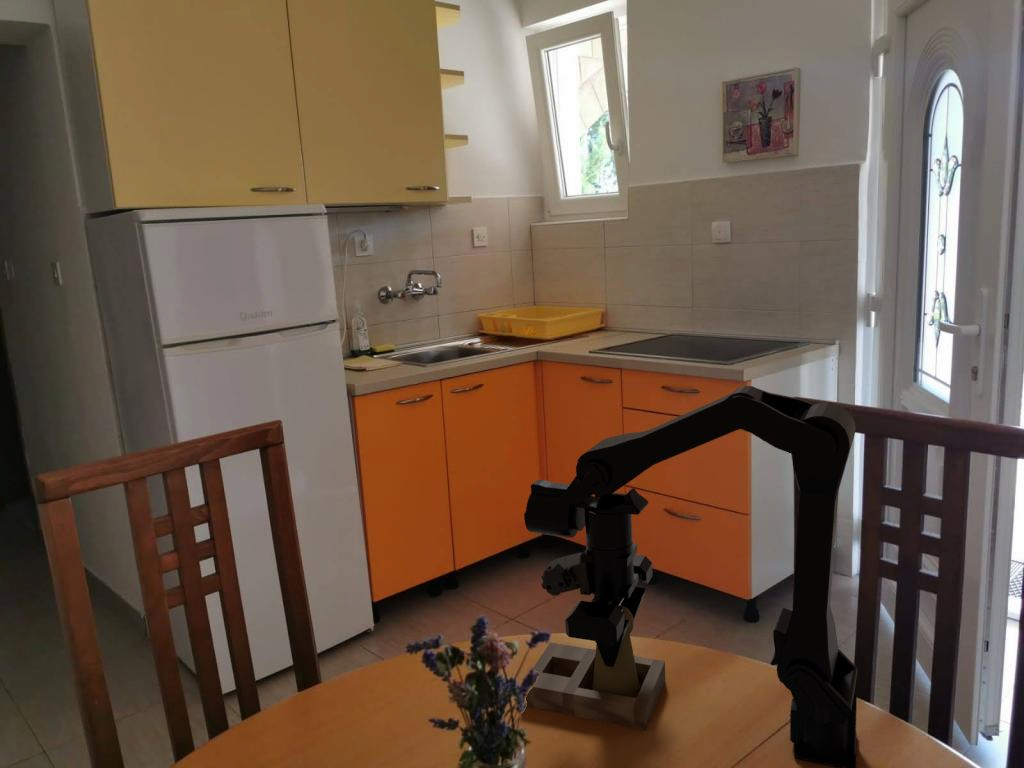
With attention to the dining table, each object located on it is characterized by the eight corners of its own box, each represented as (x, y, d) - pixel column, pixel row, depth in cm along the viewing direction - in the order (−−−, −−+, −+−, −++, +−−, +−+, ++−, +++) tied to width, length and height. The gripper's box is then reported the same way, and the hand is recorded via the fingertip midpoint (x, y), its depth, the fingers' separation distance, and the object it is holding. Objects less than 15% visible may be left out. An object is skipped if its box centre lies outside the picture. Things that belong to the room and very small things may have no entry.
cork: (625, 707, 97) (621, 625, 95) (583, 692, 101) (579, 613, 99) (647, 682, 102) (645, 604, 100) (607, 669, 106) (603, 593, 103)
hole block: (665, 681, 104) (664, 661, 104) (646, 730, 95) (645, 707, 94) (551, 661, 111) (550, 642, 110) (523, 705, 101) (521, 684, 101)
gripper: (571, 509, 109) (577, 612, 112) (520, 566, 92) (529, 685, 95) (651, 515, 104) (655, 623, 108) (612, 577, 88) (618, 702, 91)
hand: (614, 655), depth 101 cm, fingers closed on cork, 4 cm apart
